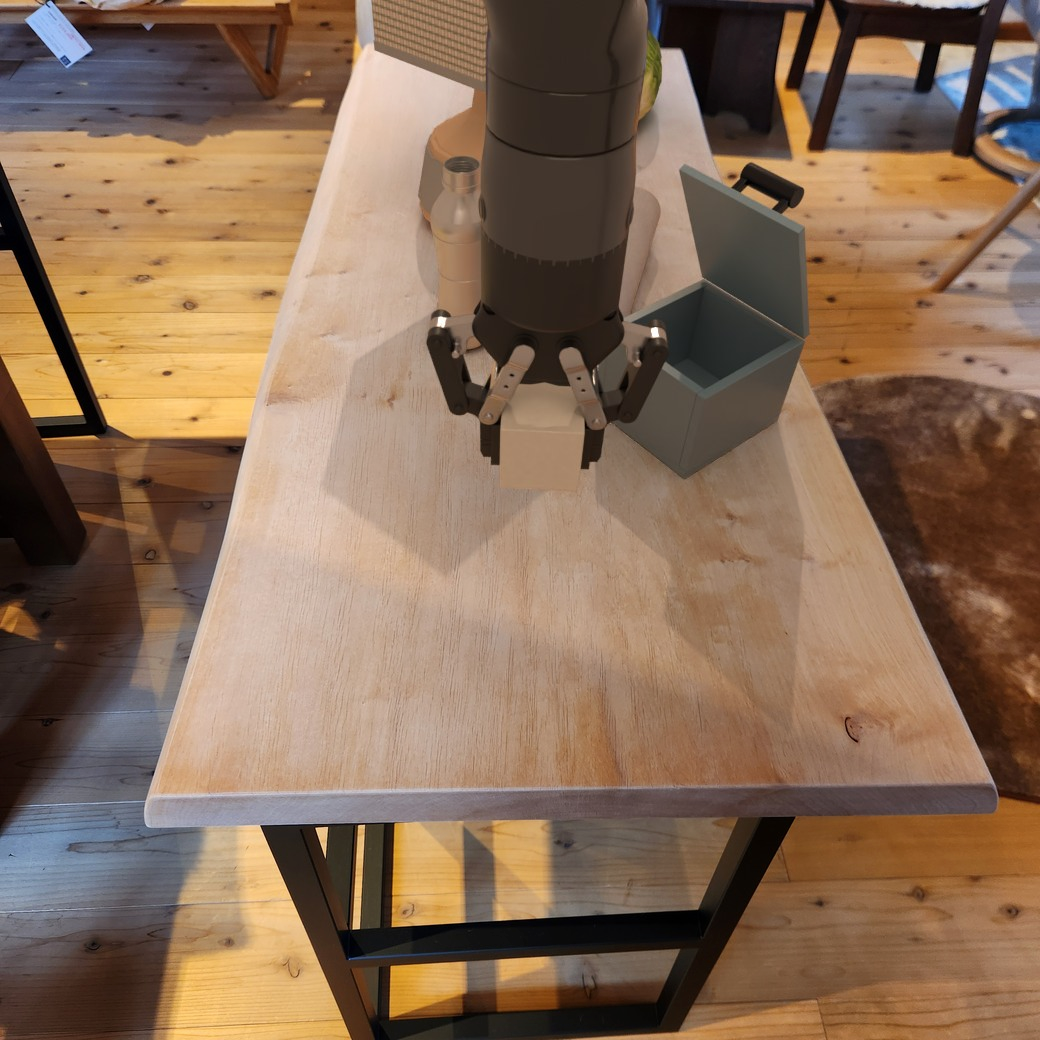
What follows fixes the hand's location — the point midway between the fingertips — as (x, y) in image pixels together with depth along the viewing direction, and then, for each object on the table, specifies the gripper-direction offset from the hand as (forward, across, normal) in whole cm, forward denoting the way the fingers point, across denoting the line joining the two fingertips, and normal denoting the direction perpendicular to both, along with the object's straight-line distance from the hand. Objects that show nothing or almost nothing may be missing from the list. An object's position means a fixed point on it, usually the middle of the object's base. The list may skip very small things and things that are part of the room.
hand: (539, 457), depth 55 cm
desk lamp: (+19, +7, -65) cm, 68 cm away
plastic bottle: (+19, +8, -38) cm, 44 cm away
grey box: (+19, -15, -27) cm, 37 cm away
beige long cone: (+19, -10, -48) cm, 53 cm away
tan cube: (0, 0, 0) cm, 0 cm away
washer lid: (+2, -18, -30) cm, 35 cm away
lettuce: (+19, -11, -98) cm, 101 cm away
